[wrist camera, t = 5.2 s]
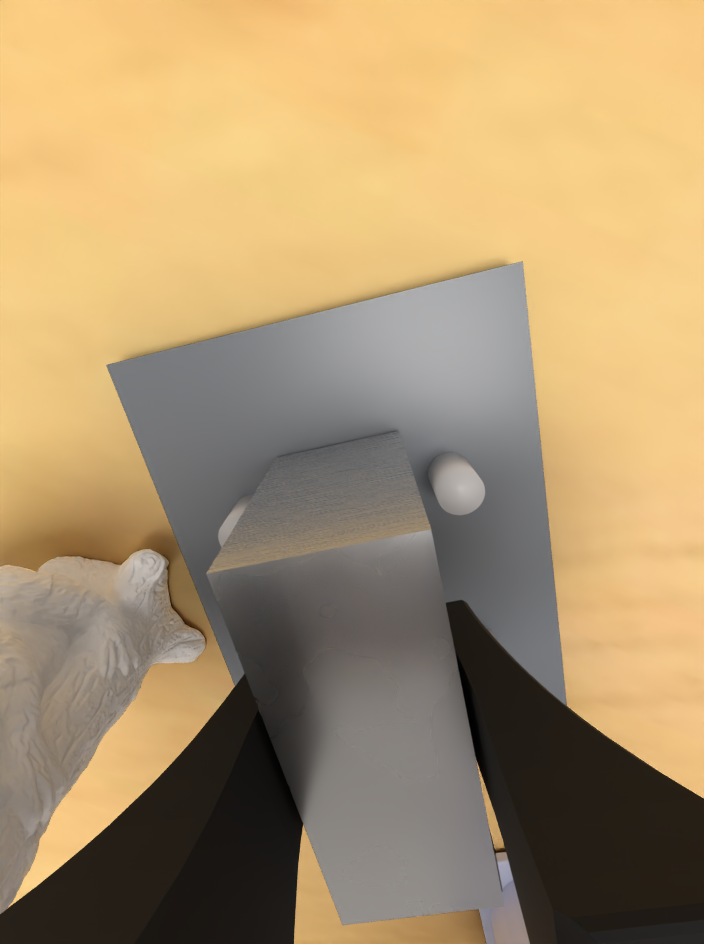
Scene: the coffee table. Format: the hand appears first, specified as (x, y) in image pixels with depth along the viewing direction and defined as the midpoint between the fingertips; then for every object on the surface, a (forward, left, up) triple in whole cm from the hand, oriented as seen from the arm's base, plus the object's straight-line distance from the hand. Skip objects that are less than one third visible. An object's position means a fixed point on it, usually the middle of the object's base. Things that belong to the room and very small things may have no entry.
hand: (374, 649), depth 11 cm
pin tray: (0, 0, -4) cm, 4 cm away
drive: (0, 0, -3) cm, 3 cm away
